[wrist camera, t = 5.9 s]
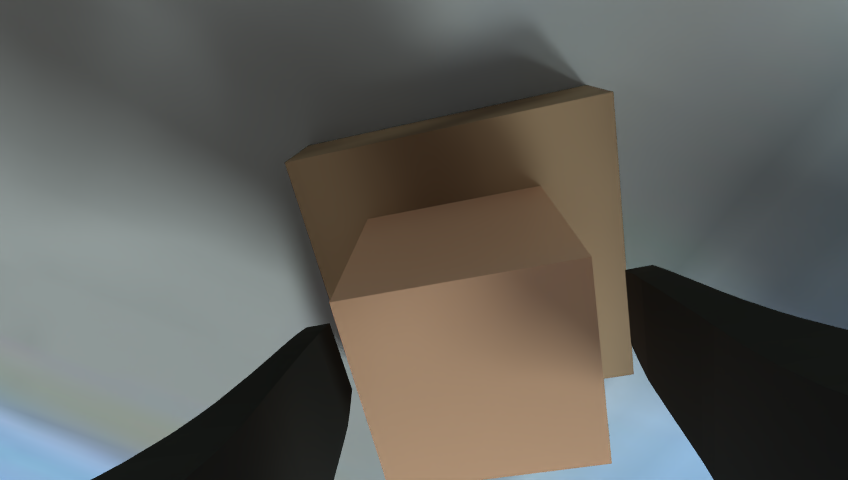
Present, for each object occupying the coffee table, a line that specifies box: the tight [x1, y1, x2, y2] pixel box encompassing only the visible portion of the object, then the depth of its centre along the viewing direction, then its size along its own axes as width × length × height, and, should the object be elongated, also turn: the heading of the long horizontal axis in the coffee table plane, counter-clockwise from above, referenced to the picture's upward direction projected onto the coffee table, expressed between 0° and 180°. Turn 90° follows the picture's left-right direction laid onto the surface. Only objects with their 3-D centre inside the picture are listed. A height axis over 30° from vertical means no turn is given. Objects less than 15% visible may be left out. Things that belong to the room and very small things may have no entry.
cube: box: [329, 186, 612, 480], centre depth 12 cm, size 5×5×5 cm
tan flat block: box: [285, 85, 634, 379], centre depth 16 cm, size 9×9×3 cm
